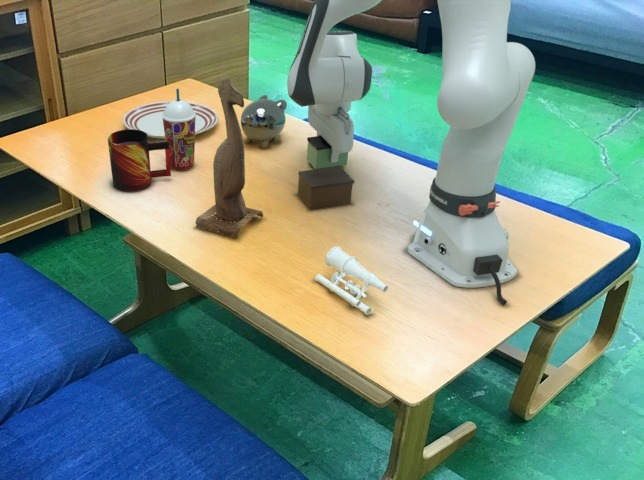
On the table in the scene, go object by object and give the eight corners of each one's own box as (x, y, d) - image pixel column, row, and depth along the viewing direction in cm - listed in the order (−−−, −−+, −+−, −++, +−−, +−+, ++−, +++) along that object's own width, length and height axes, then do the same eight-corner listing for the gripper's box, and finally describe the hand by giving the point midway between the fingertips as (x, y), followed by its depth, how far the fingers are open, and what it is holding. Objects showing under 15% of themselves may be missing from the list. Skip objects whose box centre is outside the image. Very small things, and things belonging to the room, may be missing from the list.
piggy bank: (296, 138, 187) (298, 97, 180) (261, 156, 179) (262, 113, 172) (264, 128, 193) (266, 88, 186) (229, 145, 185) (229, 103, 178)
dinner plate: (184, 103, 211) (183, 92, 209) (237, 130, 193) (237, 118, 191) (106, 124, 199) (105, 113, 197) (156, 155, 181) (155, 144, 179)
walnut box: (351, 204, 157) (354, 180, 153) (309, 211, 155) (311, 187, 152) (337, 188, 163) (339, 165, 160) (296, 194, 162) (298, 171, 158)
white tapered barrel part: (372, 319, 126) (360, 311, 122) (322, 285, 135) (309, 276, 131) (398, 284, 125) (386, 274, 121) (345, 252, 134) (333, 242, 130)
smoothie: (193, 174, 172) (190, 95, 159) (162, 172, 174) (156, 94, 161) (200, 160, 178) (197, 83, 166) (169, 158, 180) (164, 82, 167)
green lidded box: (348, 165, 171) (350, 142, 168) (315, 170, 170) (317, 147, 166) (337, 155, 176) (340, 132, 172) (305, 159, 175) (307, 137, 171)
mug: (172, 179, 170) (170, 133, 162) (125, 196, 164) (120, 149, 157) (152, 166, 176) (148, 121, 169) (106, 182, 170) (100, 136, 163)
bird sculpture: (240, 241, 146) (242, 93, 126) (194, 228, 151) (188, 83, 131) (264, 218, 153) (269, 75, 133) (219, 207, 158) (217, 66, 138)
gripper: (363, 115, 156) (356, 170, 165) (328, 86, 171) (323, 138, 180) (338, 118, 155) (332, 174, 163) (305, 89, 170) (301, 141, 179)
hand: (327, 155), depth 172 cm, fingers closed on green lidded box, 6 cm apart
